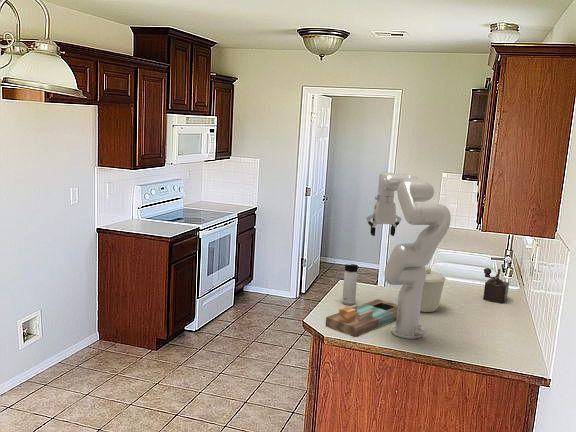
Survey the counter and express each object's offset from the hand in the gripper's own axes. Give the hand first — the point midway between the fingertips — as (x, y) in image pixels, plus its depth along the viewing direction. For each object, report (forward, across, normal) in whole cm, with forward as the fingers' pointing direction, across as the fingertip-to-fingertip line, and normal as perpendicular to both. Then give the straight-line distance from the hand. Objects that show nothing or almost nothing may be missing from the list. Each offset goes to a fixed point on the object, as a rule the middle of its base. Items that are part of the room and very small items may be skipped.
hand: (382, 235), depth 267 cm
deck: (+36, -10, -14) cm, 40 cm away
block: (+32, -24, -23) cm, 46 cm away
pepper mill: (+36, +68, +7) cm, 78 cm away
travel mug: (+36, -11, +9) cm, 39 cm away
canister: (+36, +24, -2) cm, 43 cm away
